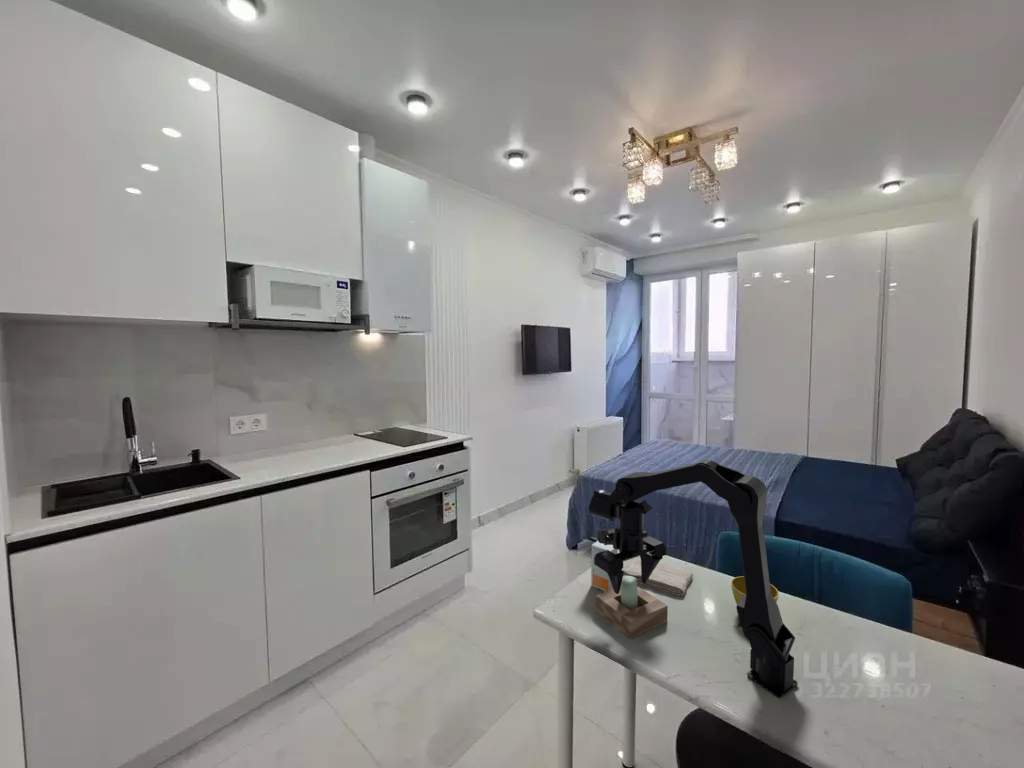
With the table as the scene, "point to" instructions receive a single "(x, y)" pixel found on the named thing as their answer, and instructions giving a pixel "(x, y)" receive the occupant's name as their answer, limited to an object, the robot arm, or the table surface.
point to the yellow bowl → (740, 589)
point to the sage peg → (629, 592)
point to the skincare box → (597, 574)
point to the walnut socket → (632, 612)
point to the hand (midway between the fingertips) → (630, 587)
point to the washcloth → (661, 576)
